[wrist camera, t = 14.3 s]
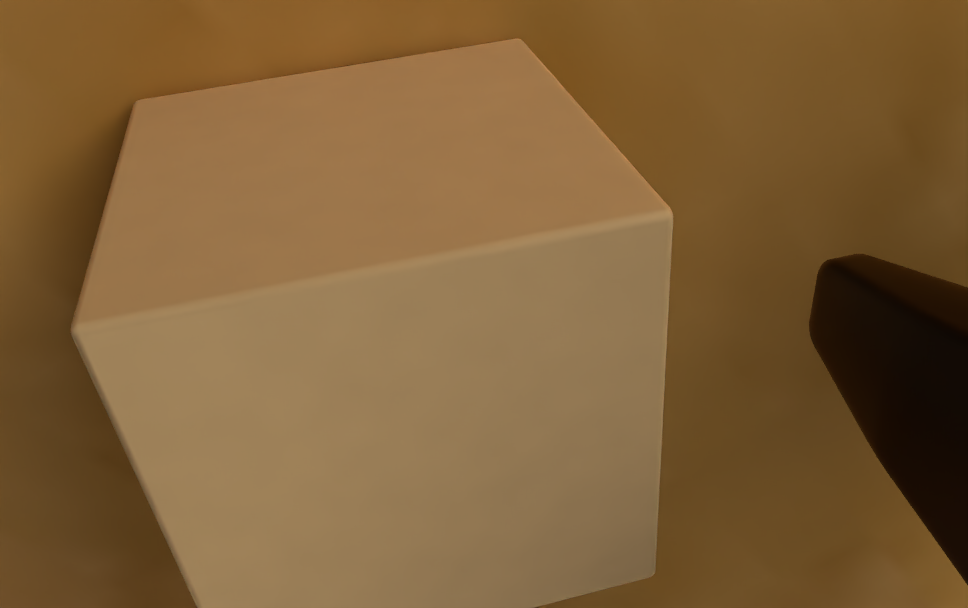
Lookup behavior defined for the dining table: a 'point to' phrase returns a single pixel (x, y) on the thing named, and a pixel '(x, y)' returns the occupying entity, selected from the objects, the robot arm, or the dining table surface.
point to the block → (386, 336)
